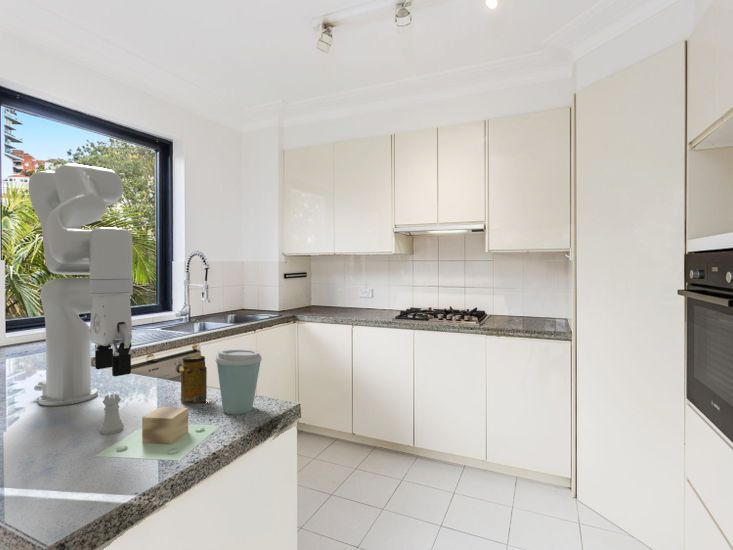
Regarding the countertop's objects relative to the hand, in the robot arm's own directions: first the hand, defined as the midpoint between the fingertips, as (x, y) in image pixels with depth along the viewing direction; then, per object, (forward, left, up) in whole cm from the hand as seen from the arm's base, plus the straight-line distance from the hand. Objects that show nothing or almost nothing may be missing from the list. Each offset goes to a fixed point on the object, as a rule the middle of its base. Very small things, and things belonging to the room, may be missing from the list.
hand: (112, 371), depth 84 cm
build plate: (+12, -3, -13) cm, 18 cm away
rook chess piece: (-1, 0, -13) cm, 13 cm away
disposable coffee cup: (+20, +15, -13) cm, 29 cm away
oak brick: (+12, -2, -12) cm, 18 cm away
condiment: (+7, +20, -14) cm, 26 cm away
